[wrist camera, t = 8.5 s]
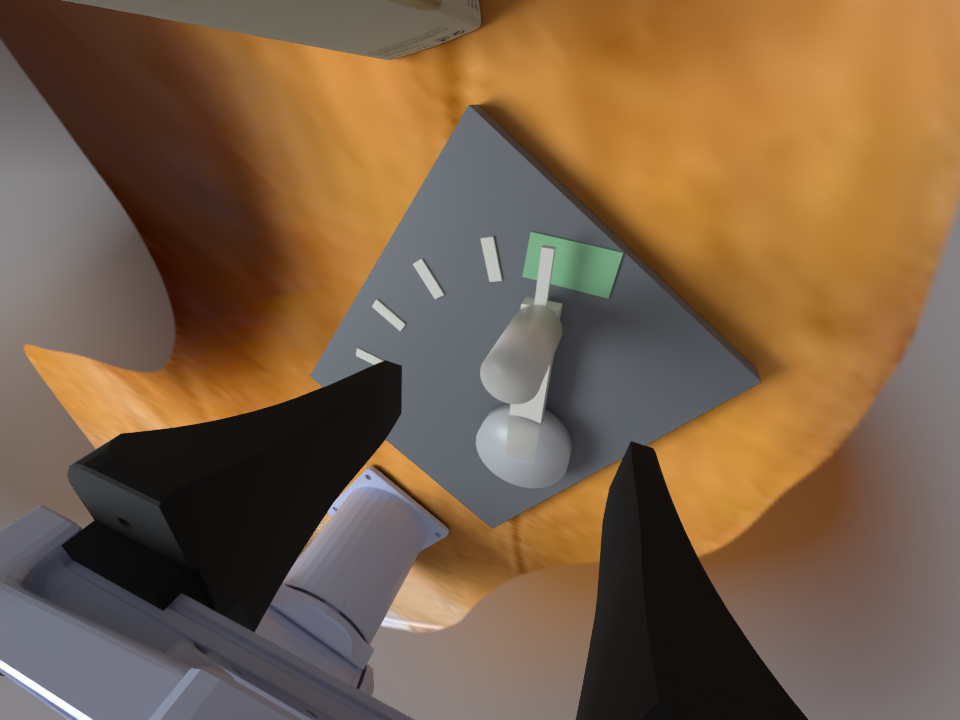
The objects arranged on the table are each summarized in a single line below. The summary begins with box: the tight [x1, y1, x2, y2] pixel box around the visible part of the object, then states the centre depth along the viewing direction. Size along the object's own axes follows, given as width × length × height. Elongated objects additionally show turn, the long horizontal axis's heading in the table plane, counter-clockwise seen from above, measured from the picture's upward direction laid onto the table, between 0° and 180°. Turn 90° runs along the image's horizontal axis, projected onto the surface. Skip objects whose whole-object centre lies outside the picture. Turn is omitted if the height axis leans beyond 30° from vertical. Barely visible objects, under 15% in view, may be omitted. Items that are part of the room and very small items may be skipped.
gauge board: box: [310, 105, 761, 529], centre depth 23 cm, size 19×16×1 cm
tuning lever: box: [476, 245, 572, 488], centre depth 18 cm, size 14×5×5 cm, turn 177°
